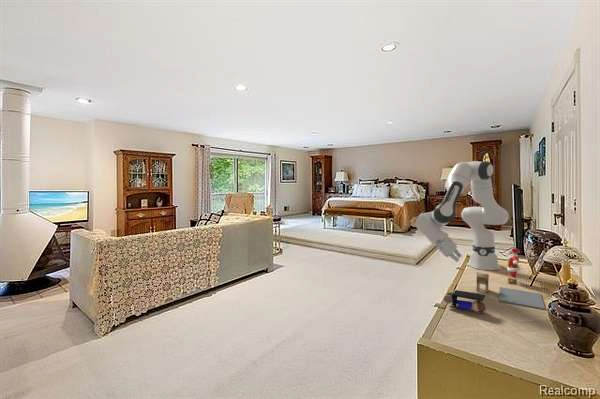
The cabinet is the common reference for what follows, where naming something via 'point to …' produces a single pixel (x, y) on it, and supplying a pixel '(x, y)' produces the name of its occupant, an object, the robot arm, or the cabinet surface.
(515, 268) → the santa figurine
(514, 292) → the mat
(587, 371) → the cabinet surface
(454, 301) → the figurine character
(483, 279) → the stool
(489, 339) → the cabinet surface
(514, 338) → the cabinet surface
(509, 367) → the cabinet surface
